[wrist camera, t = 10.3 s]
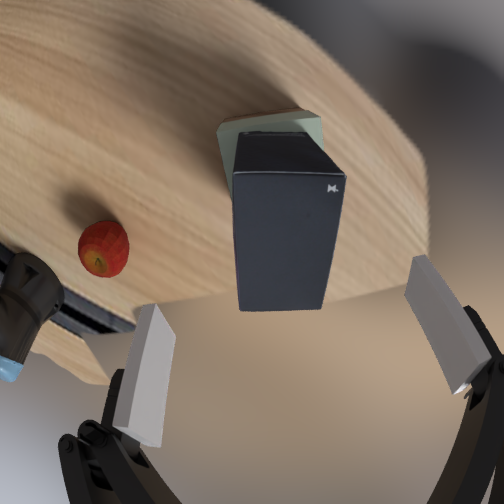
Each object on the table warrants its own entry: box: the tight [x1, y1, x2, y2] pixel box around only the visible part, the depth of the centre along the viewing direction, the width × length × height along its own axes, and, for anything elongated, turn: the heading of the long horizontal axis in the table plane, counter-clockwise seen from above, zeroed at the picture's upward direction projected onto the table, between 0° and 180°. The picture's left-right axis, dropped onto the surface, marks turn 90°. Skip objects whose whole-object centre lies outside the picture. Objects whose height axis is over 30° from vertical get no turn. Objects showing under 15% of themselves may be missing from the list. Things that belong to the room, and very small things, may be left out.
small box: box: [232, 131, 347, 312], centre depth 21 cm, size 11×6×10 cm, turn 0°
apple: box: [78, 221, 129, 278], centre depth 35 cm, size 8×8×8 cm
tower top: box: [216, 110, 324, 200], centre depth 27 cm, size 9×12×5 cm
